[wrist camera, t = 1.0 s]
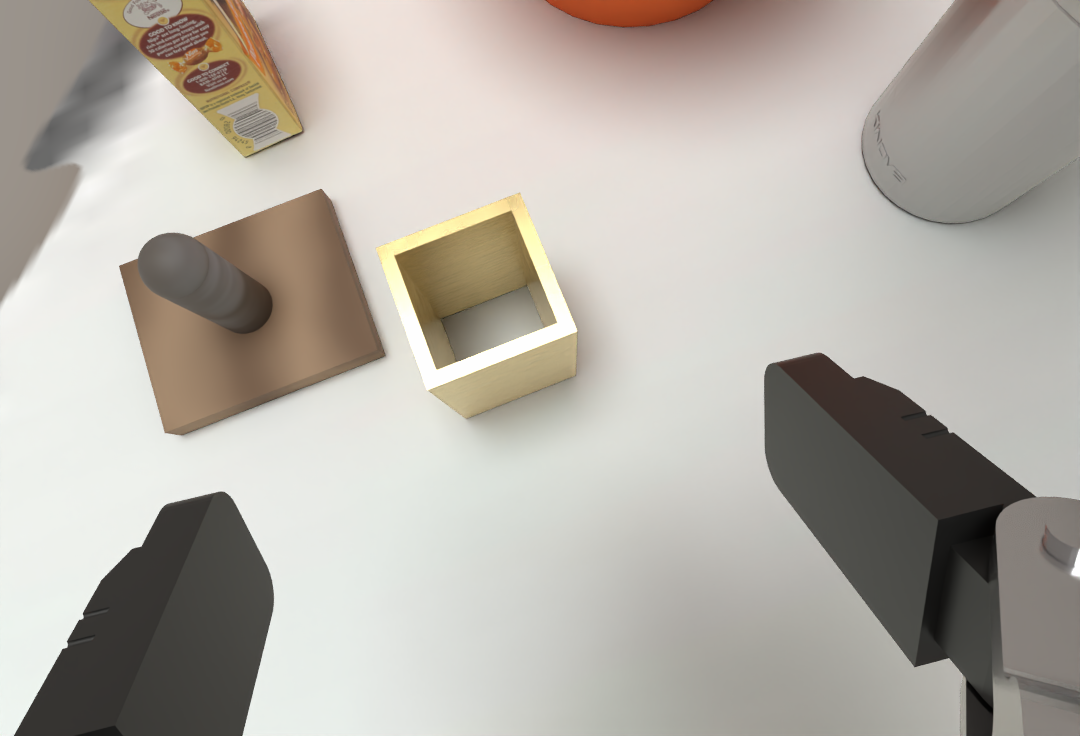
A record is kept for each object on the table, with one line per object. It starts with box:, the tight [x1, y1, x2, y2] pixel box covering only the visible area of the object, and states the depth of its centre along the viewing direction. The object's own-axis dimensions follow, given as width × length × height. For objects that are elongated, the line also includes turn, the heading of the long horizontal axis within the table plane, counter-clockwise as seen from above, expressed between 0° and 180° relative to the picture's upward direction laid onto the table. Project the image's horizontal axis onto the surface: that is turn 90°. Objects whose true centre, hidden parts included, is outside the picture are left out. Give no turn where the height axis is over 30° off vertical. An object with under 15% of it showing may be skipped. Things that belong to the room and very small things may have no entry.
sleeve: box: [376, 193, 577, 419], centre depth 32 cm, size 6×6×10 cm
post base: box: [119, 189, 385, 435], centre depth 33 cm, size 12×10×10 cm
